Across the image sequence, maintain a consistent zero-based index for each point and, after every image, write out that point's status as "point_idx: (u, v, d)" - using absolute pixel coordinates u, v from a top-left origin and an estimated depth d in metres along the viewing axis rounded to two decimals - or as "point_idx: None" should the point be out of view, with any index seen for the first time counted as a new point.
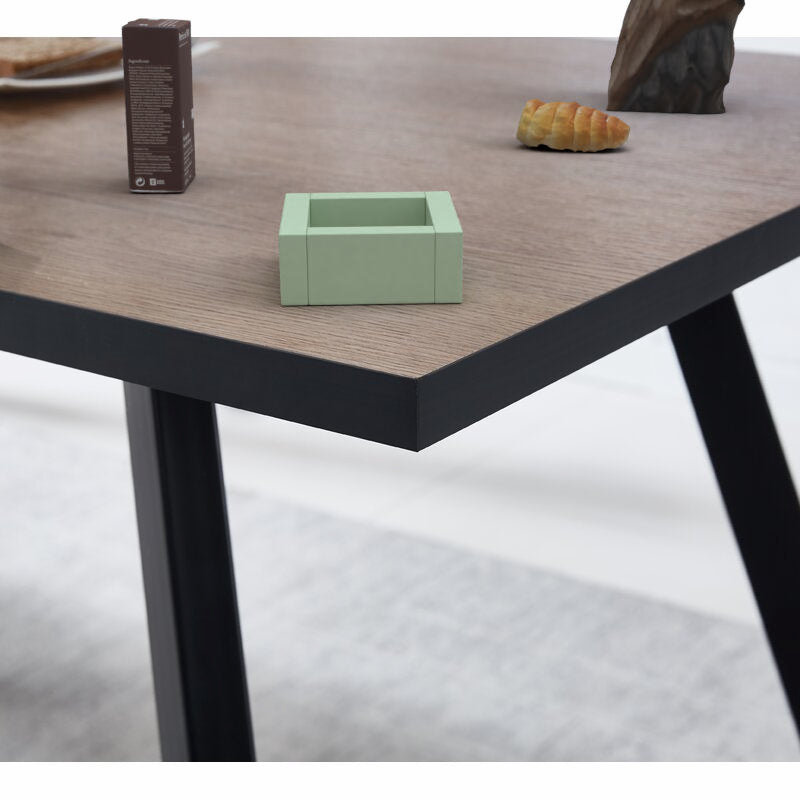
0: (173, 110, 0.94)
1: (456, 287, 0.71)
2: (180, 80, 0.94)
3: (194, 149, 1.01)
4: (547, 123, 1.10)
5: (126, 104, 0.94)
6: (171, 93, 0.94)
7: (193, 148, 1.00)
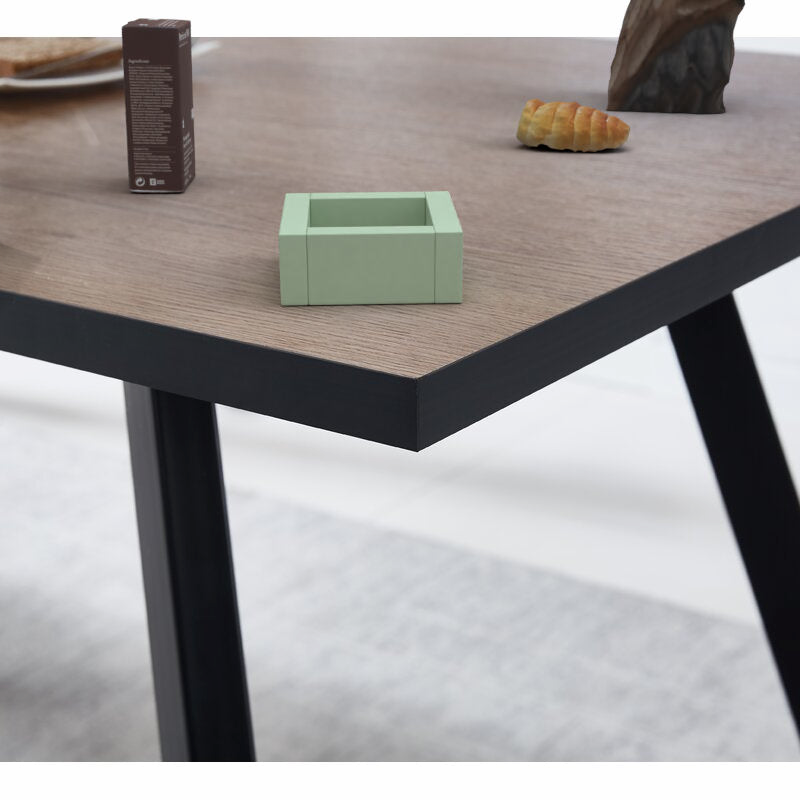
0: (173, 110, 0.94)
1: (456, 287, 0.71)
2: (180, 80, 0.94)
3: (194, 149, 1.01)
4: (547, 123, 1.10)
5: (126, 104, 0.94)
6: (171, 93, 0.94)
7: (193, 148, 1.00)
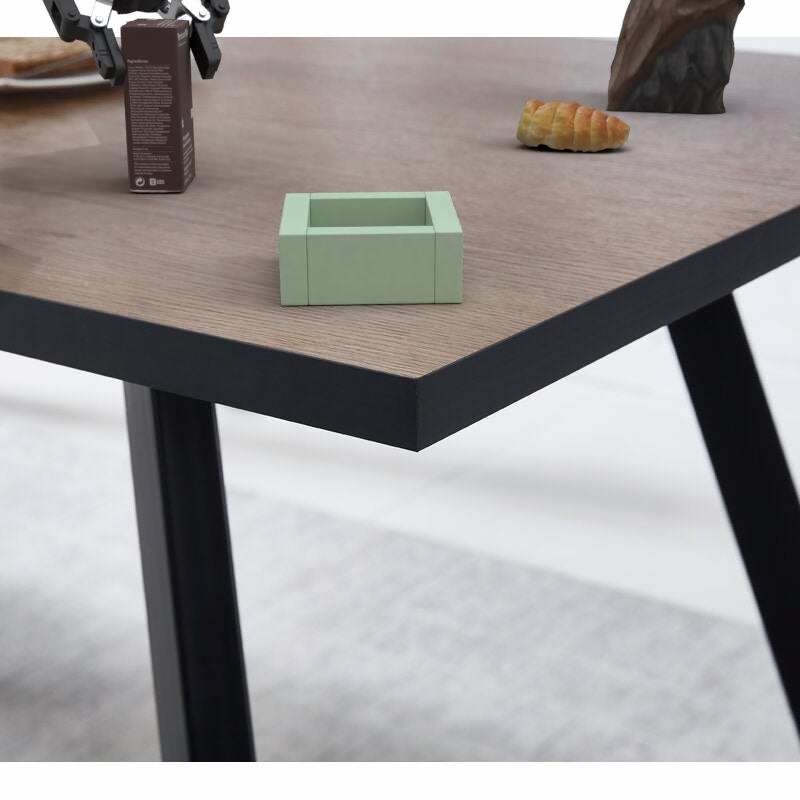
0: (172, 110, 0.94)
1: (456, 287, 0.71)
2: (179, 80, 0.94)
3: (194, 149, 1.01)
4: (547, 123, 1.10)
5: (125, 104, 0.94)
6: (170, 93, 0.94)
7: (193, 148, 1.00)
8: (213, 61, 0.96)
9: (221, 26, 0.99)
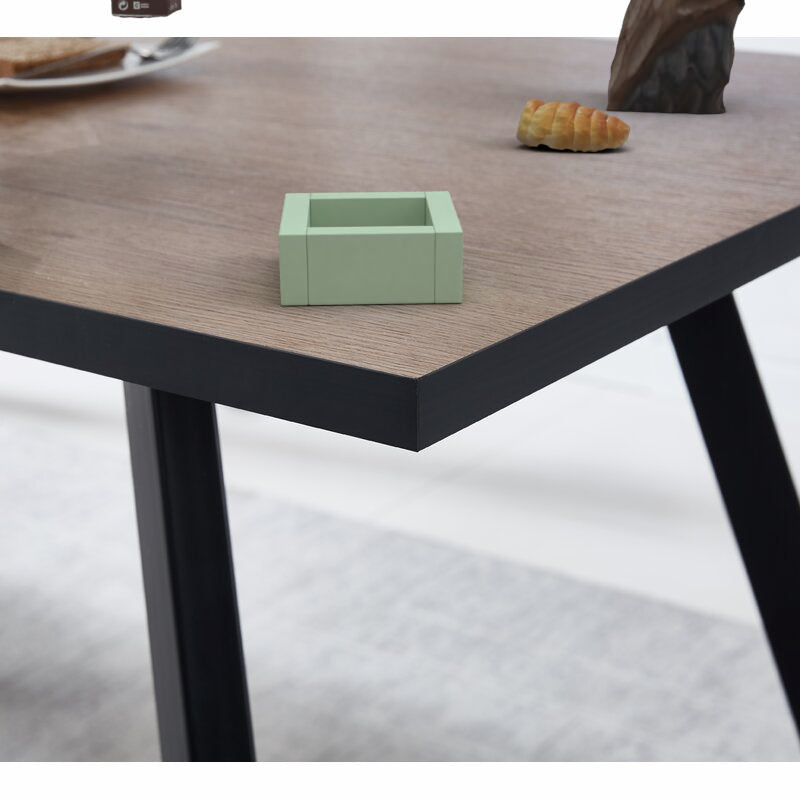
0: None
1: (456, 287, 0.71)
2: None
3: None
4: (547, 123, 1.10)
5: None
6: None
7: None
8: None
9: None
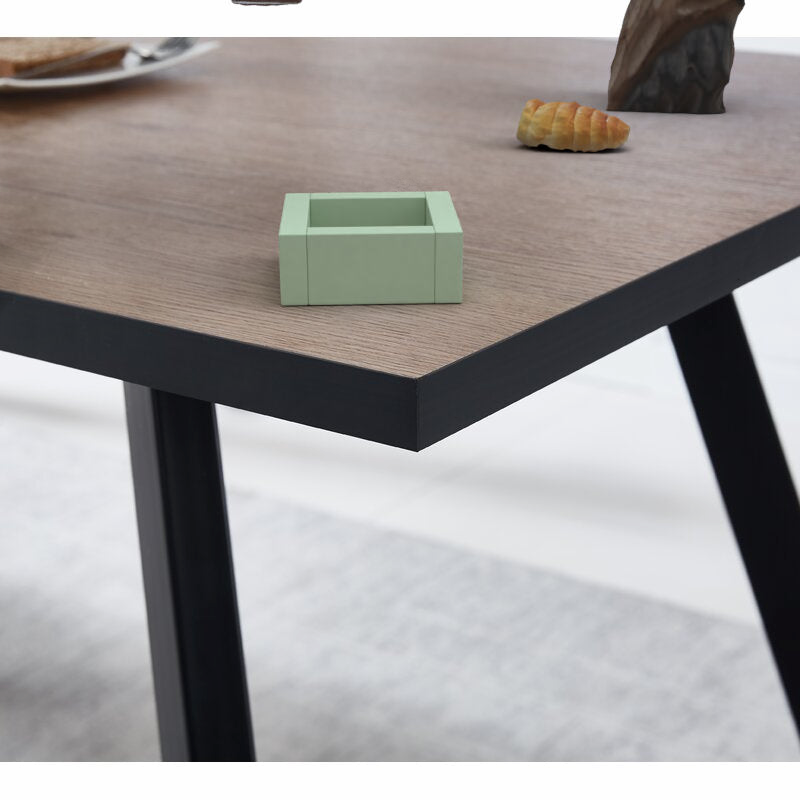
0: None
1: (456, 287, 0.71)
2: None
3: None
4: (547, 123, 1.10)
5: None
6: None
7: None
8: None
9: None
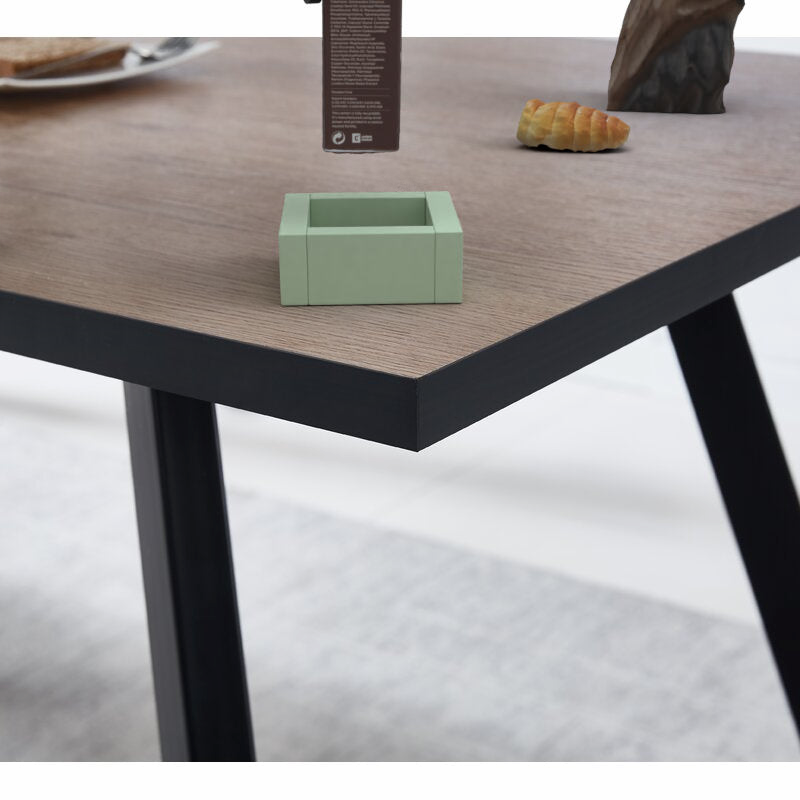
0: (389, 37, 0.68)
1: (456, 287, 0.71)
2: None
3: None
4: (547, 123, 1.10)
5: (324, 28, 0.68)
6: (387, 13, 0.67)
7: None
8: None
9: None
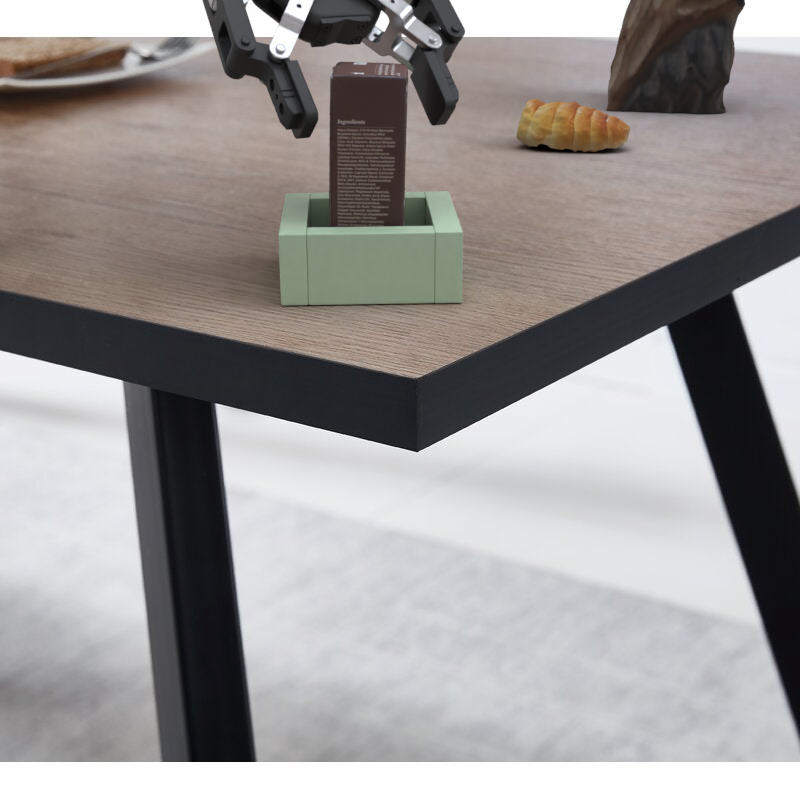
0: (393, 186, 0.71)
1: (456, 287, 0.71)
2: (404, 146, 0.70)
3: None
4: (547, 123, 1.10)
5: (331, 178, 0.71)
6: (392, 164, 0.70)
7: None
8: (450, 102, 0.73)
9: (451, 54, 0.76)
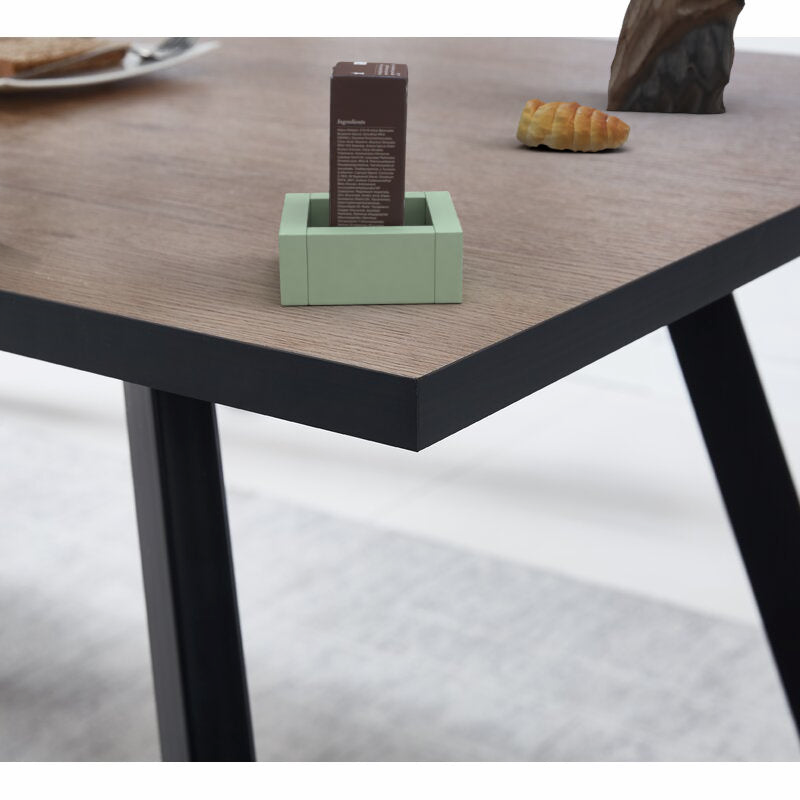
0: (393, 186, 0.71)
1: (456, 287, 0.71)
2: (404, 146, 0.70)
3: None
4: (547, 123, 1.10)
5: (331, 178, 0.71)
6: (392, 164, 0.70)
7: None
8: None
9: None
